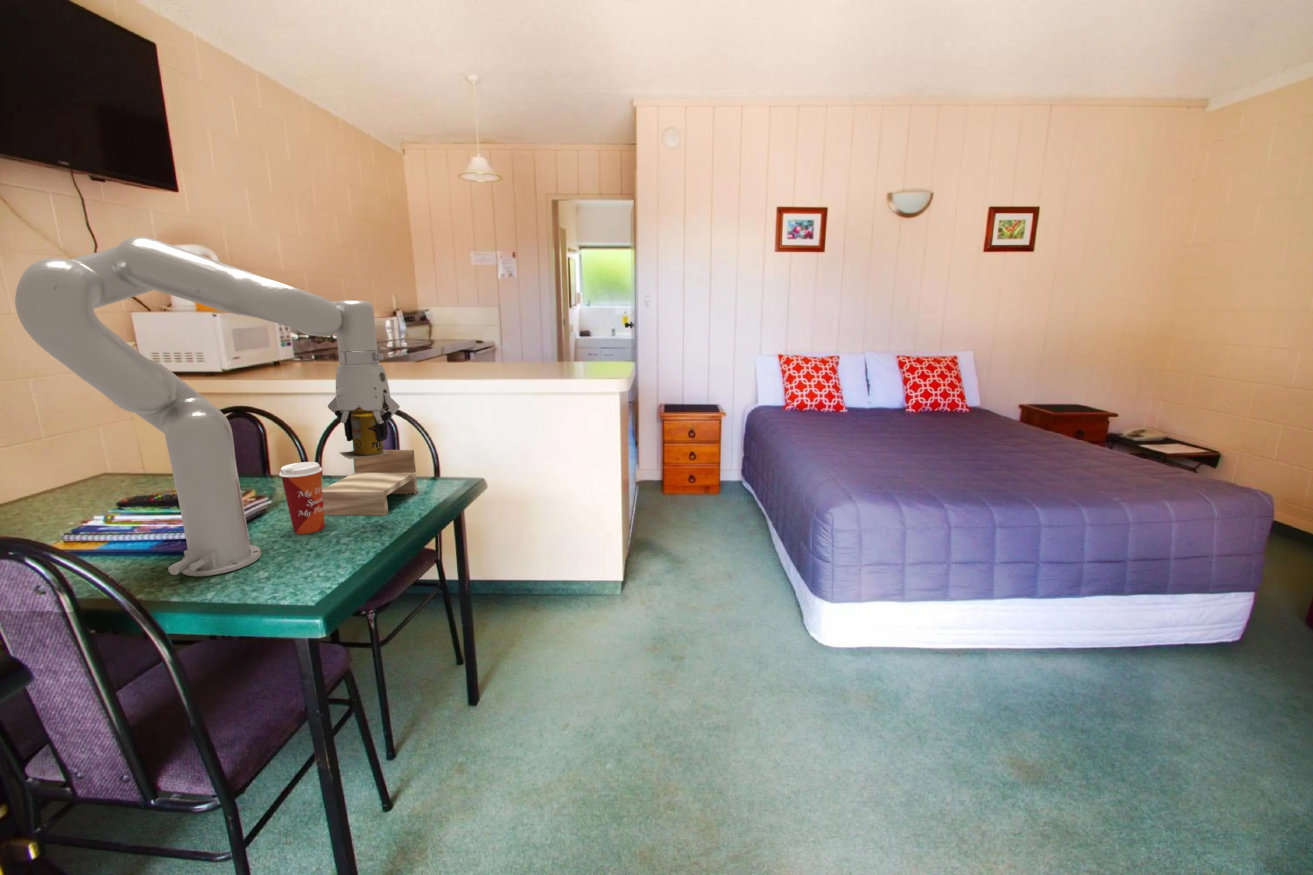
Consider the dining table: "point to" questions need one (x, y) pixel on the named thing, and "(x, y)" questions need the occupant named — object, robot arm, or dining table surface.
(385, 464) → the shelf
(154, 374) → the robot arm
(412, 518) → the dining table surface
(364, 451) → the condiment
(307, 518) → the coffee cup
